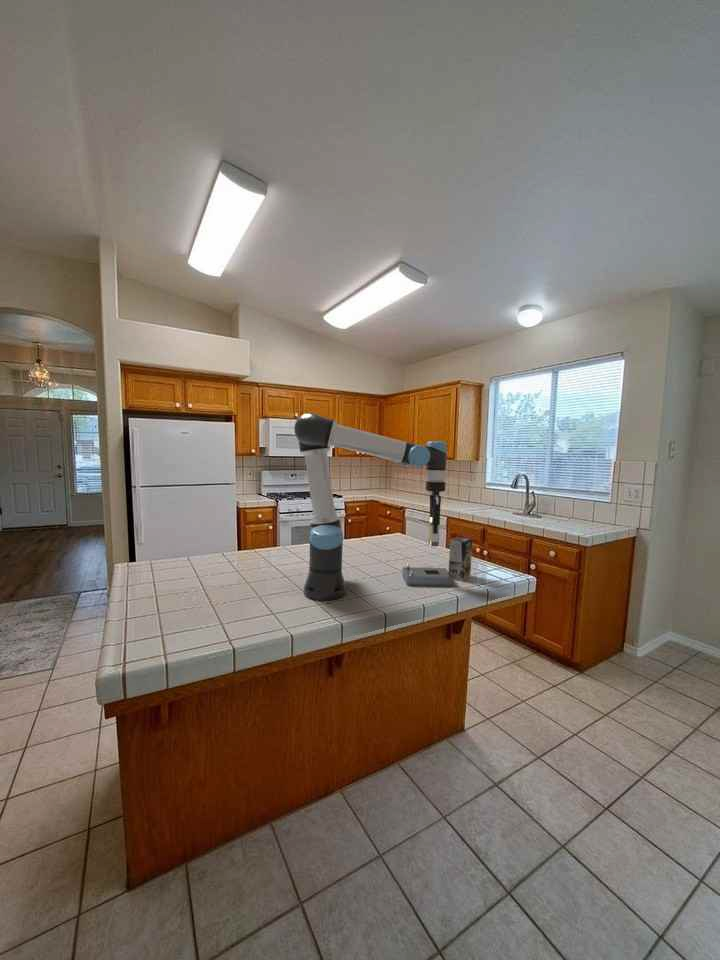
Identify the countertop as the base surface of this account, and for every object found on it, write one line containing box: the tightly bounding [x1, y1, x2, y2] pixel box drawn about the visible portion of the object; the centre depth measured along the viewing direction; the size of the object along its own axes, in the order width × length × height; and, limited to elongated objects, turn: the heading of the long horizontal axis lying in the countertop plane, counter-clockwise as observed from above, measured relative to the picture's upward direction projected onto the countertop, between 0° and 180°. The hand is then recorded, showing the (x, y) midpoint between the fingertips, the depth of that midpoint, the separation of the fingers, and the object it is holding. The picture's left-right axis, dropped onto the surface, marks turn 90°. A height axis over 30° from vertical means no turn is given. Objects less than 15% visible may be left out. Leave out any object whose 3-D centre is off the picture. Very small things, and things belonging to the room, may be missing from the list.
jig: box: [401, 563, 454, 587], centre depth 155 cm, size 18×12×5 cm, turn 92°
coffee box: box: [448, 536, 473, 582], centre depth 161 cm, size 9×6×16 cm
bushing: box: [428, 516, 441, 547], centre depth 152 cm, size 4×4×11 cm
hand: (433, 539), depth 153 cm, fingers closed on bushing, 4 cm apart
